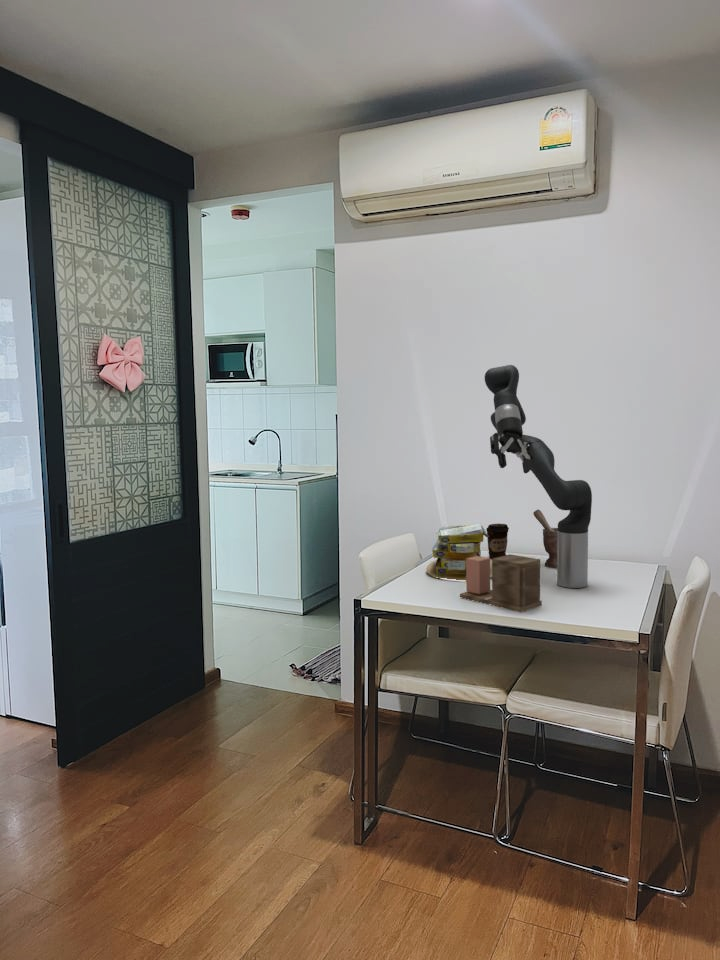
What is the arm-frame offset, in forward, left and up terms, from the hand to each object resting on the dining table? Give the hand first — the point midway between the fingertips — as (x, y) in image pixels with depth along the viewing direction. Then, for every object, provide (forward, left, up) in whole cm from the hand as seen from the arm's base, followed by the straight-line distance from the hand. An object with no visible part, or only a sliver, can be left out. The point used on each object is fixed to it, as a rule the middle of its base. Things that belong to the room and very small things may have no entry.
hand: (515, 469), depth 213 cm
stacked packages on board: (-32, -13, -39) cm, 52 cm away
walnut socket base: (+4, -6, -38) cm, 39 cm away
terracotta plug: (-1, -11, -37) cm, 38 cm away
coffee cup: (-54, +2, -39) cm, 66 cm away
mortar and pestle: (-42, +19, -39) cm, 60 cm away
